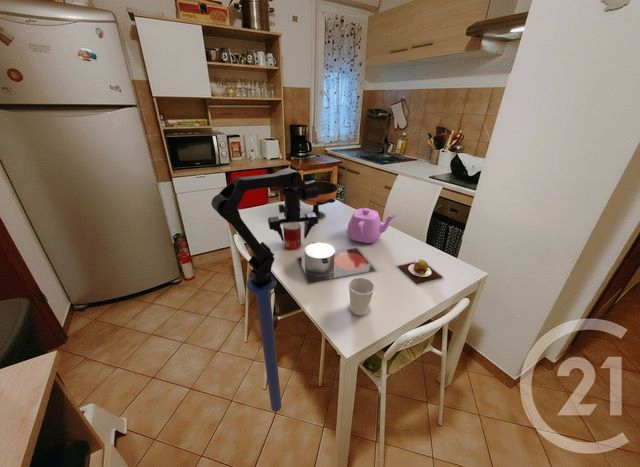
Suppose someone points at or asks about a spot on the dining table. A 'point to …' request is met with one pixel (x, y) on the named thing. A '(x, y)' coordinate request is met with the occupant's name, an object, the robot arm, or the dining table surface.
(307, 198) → the robot arm
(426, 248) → the dining table surface
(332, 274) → the hob
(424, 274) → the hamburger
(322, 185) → the orange pedestal bowl
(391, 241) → the dining table surface
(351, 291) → the dixie cup
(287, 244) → the canned food
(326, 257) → the pot
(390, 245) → the dining table surface
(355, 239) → the teapot
